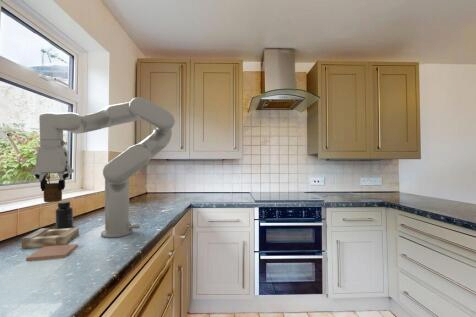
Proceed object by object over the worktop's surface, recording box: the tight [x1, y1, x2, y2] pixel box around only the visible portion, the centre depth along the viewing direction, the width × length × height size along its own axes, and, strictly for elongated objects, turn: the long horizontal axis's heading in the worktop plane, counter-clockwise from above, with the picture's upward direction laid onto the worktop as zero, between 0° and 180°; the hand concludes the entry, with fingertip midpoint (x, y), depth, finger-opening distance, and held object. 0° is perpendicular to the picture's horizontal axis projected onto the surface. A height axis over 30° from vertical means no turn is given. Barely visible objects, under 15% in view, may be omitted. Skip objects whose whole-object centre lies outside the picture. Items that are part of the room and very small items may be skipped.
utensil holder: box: [43, 173, 63, 203], centre depth 103 cm, size 6×6×12 cm
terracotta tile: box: [25, 243, 79, 262], centre depth 89 cm, size 11×11×1 cm
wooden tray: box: [21, 227, 80, 249], centre depth 103 cm, size 14×14×4 cm
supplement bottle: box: [55, 201, 74, 229], centre depth 123 cm, size 7×7×12 cm
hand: (53, 189), depth 103 cm, fingers closed on utensil holder, 5 cm apart
